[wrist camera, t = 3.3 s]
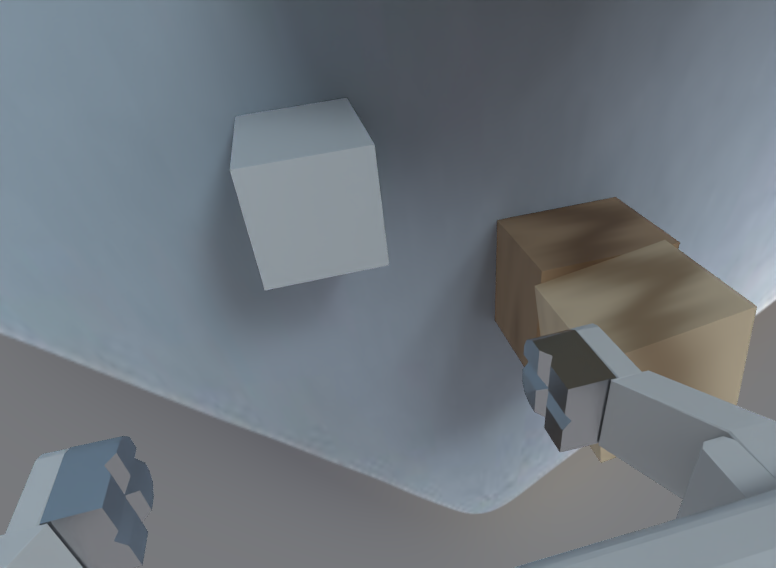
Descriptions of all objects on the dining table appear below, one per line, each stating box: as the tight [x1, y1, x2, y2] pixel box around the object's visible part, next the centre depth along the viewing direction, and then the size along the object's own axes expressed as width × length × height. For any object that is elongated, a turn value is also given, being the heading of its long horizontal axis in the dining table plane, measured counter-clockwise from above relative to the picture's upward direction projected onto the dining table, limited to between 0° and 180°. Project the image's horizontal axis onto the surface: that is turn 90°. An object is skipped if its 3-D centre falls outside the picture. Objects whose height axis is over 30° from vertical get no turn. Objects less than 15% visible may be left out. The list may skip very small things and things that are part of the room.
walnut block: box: [495, 197, 680, 367], centre depth 26 cm, size 6×6×5 cm
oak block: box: [534, 240, 757, 463], centre depth 22 cm, size 6×6×5 cm
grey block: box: [230, 98, 389, 291], centre depth 20 cm, size 4×4×6 cm
